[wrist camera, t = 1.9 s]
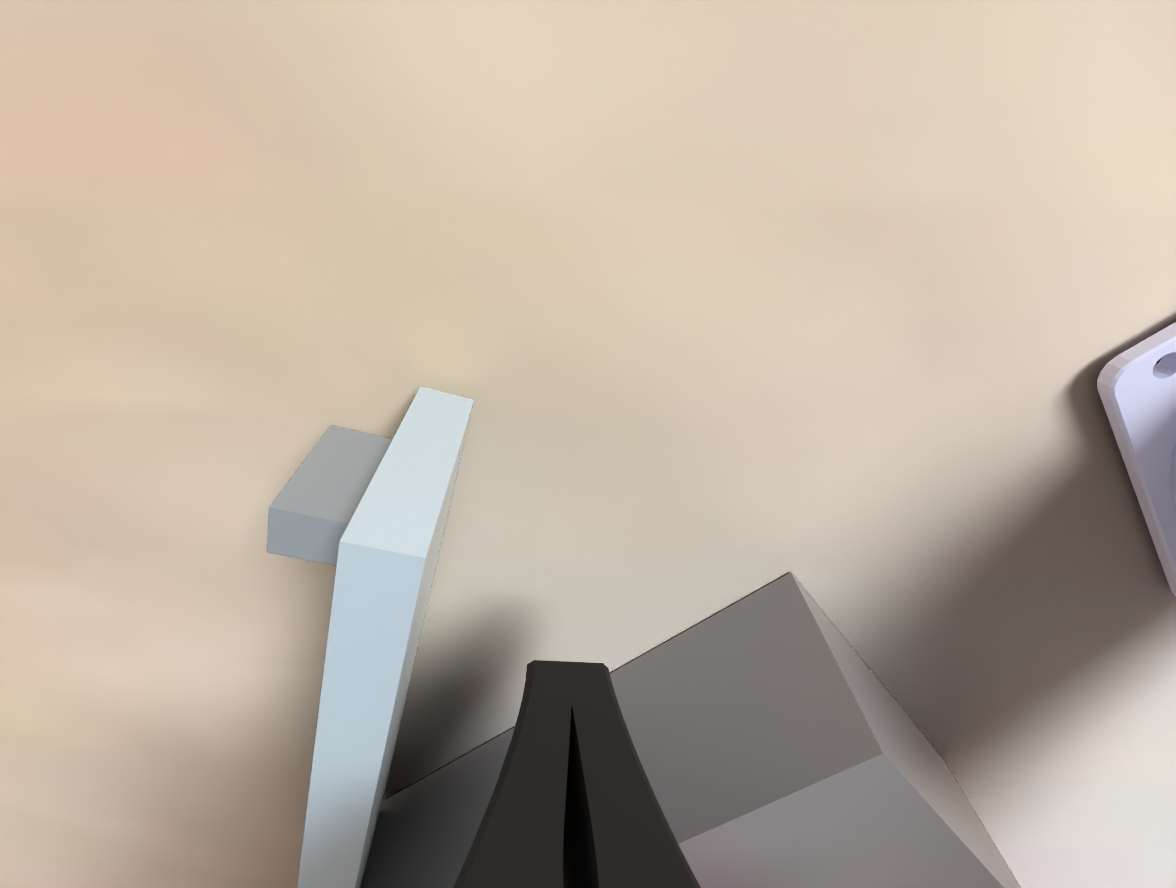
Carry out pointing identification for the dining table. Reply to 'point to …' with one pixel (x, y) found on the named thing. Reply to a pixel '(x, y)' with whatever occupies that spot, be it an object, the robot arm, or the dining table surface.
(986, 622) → the dining table surface
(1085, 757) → the dining table surface
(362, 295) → the dining table surface
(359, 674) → the side door
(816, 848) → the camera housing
